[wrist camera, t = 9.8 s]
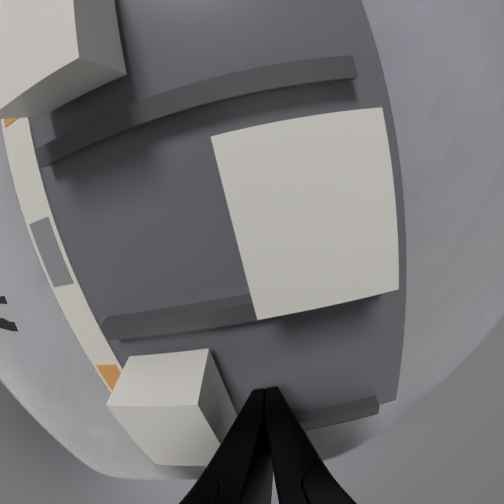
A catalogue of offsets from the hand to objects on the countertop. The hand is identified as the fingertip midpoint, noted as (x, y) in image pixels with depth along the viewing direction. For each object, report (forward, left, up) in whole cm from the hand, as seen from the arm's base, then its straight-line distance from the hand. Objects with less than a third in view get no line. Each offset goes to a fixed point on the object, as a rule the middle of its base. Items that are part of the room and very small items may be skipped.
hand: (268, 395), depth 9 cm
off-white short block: (+3, 0, -1) cm, 3 cm away
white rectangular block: (-2, -6, -1) cm, 6 cm away
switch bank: (+1, -9, -3) cm, 10 cm away
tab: (+3, -12, -1) cm, 12 cm away
